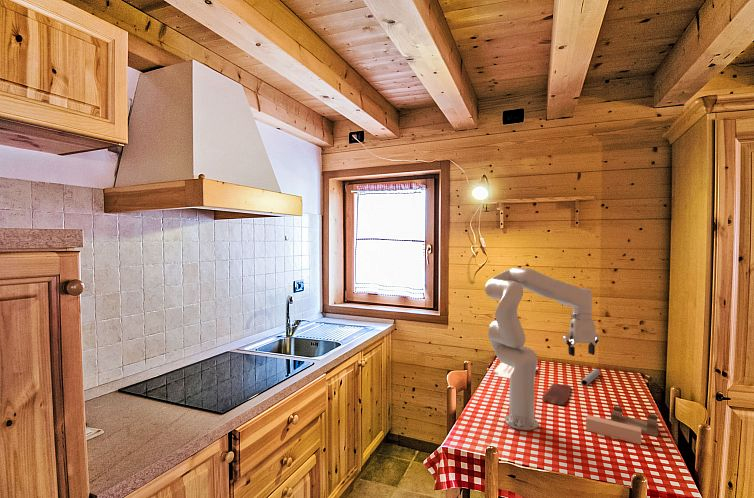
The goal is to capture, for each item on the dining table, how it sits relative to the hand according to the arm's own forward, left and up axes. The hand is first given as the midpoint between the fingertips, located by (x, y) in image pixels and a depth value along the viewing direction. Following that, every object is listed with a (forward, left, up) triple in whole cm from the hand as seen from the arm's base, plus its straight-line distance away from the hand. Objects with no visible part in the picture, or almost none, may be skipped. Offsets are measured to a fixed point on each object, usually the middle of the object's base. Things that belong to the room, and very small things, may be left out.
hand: (581, 354), depth 174 cm
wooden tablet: (+11, +17, -24) cm, 31 cm away
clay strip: (-18, -14, -25) cm, 34 cm away
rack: (-4, -20, -24) cm, 32 cm away
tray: (+32, +39, -25) cm, 56 cm away
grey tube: (+43, +1, -25) cm, 50 cm away
